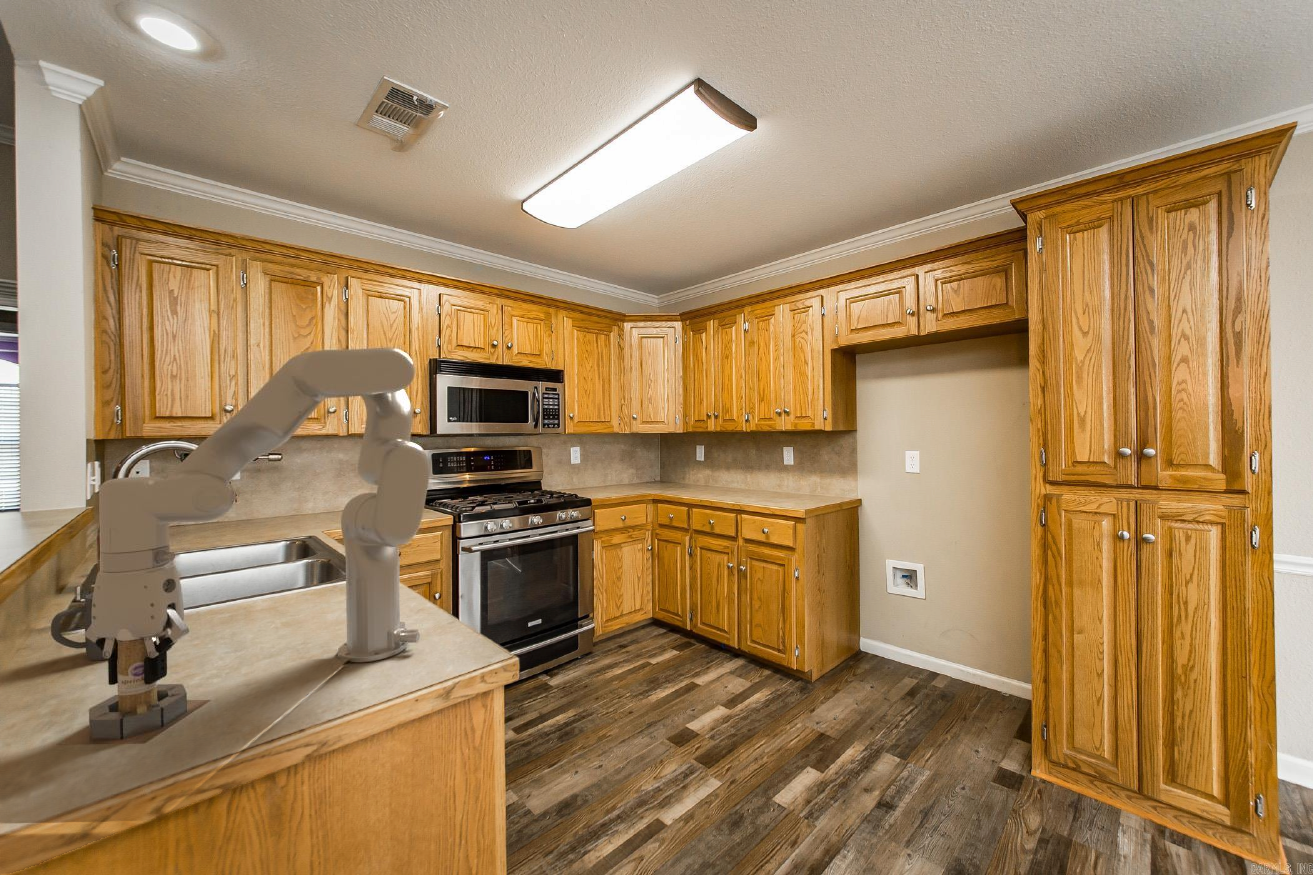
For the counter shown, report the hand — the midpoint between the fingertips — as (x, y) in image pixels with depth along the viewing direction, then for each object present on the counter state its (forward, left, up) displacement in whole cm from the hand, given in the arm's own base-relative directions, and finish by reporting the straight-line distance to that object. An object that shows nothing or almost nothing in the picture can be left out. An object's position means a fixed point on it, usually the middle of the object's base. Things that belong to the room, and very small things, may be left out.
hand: (138, 679), depth 82 cm
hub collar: (0, 0, -6) cm, 6 cm away
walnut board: (0, 0, -7) cm, 7 cm away
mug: (+30, -26, -7) cm, 40 cm away
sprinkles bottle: (0, 0, -5) cm, 5 cm away
